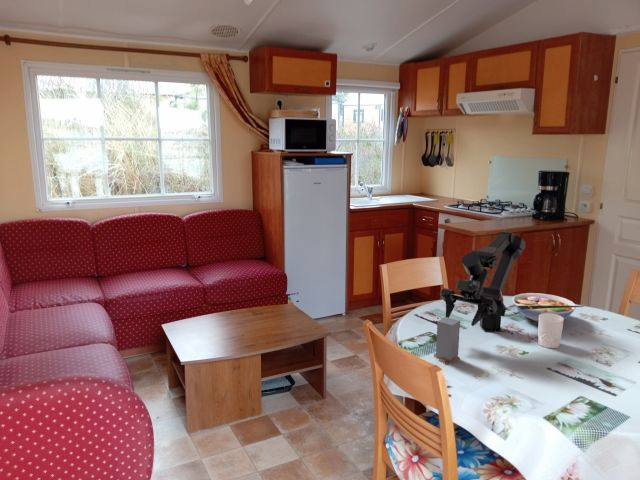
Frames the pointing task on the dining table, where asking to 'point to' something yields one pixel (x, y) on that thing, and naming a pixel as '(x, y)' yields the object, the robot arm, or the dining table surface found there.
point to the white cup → (550, 330)
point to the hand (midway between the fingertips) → (459, 322)
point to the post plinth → (447, 360)
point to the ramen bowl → (543, 305)
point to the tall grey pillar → (447, 338)
